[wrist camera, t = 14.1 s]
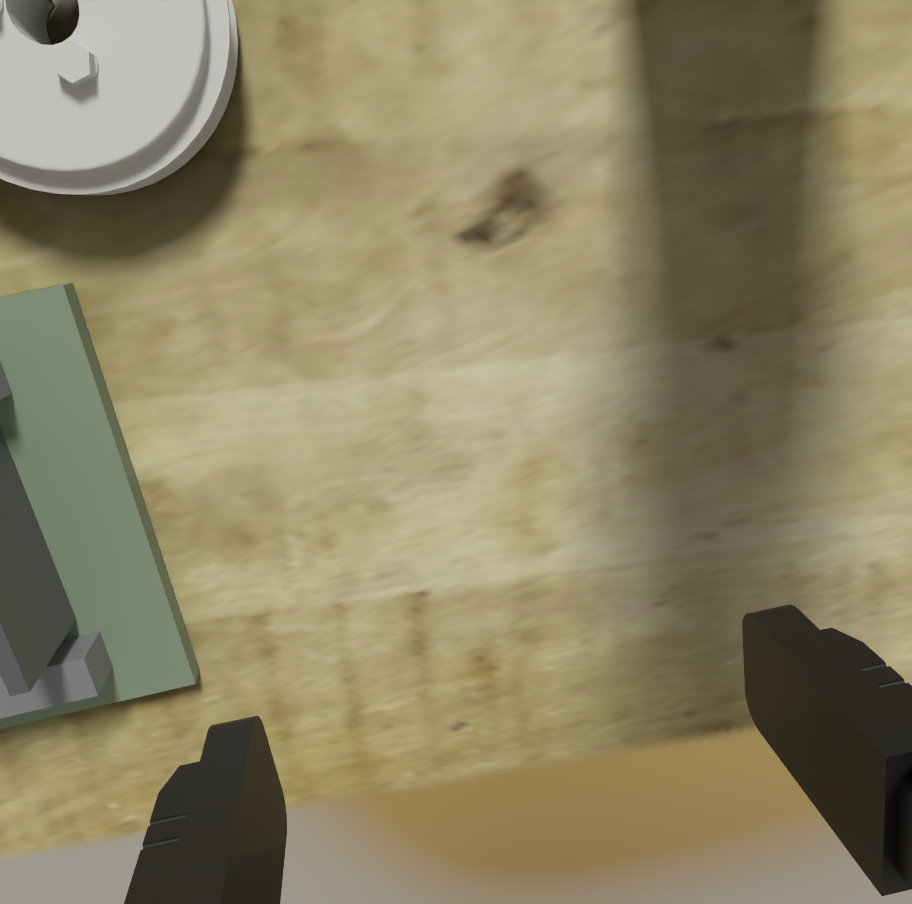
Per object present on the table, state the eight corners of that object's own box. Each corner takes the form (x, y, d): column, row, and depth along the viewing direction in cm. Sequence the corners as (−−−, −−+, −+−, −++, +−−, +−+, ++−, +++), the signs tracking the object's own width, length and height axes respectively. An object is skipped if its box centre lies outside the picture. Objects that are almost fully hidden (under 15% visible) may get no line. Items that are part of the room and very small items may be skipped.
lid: (-164, -60, 30) (-258, -110, 26) (130, -214, 30) (91, -292, 26) (36, 247, 34) (-13, 254, 30) (296, 112, 34) (289, 98, 30)
